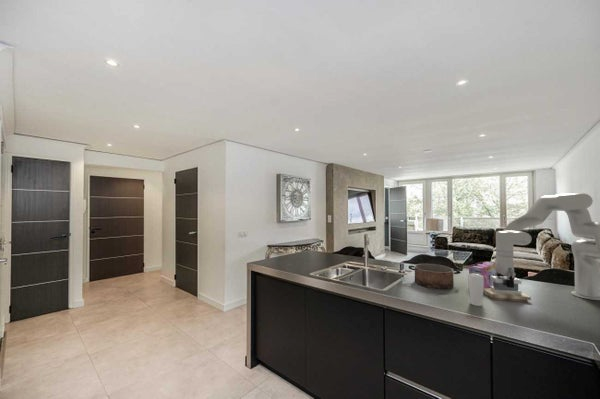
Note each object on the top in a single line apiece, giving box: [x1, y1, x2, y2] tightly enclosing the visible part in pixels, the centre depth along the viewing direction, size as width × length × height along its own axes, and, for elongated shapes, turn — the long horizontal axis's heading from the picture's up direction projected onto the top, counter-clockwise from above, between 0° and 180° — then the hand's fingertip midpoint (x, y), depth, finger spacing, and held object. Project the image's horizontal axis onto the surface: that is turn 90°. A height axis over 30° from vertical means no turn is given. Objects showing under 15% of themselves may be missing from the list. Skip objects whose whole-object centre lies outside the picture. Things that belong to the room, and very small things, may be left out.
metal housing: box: [490, 275, 523, 295], centre depth 141 cm, size 6×12×8 cm, turn 78°
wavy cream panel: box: [483, 288, 532, 303], centre depth 141 cm, size 18×11×3 cm, turn 77°
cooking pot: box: [408, 263, 461, 291], centre depth 166 cm, size 30×22×11 cm
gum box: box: [468, 260, 497, 288], centre depth 163 cm, size 24×8×14 cm, turn 125°
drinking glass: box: [467, 273, 484, 307], centre depth 132 cm, size 7×7×15 cm
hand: (505, 284), depth 141 cm, fingers open, 9 cm apart
